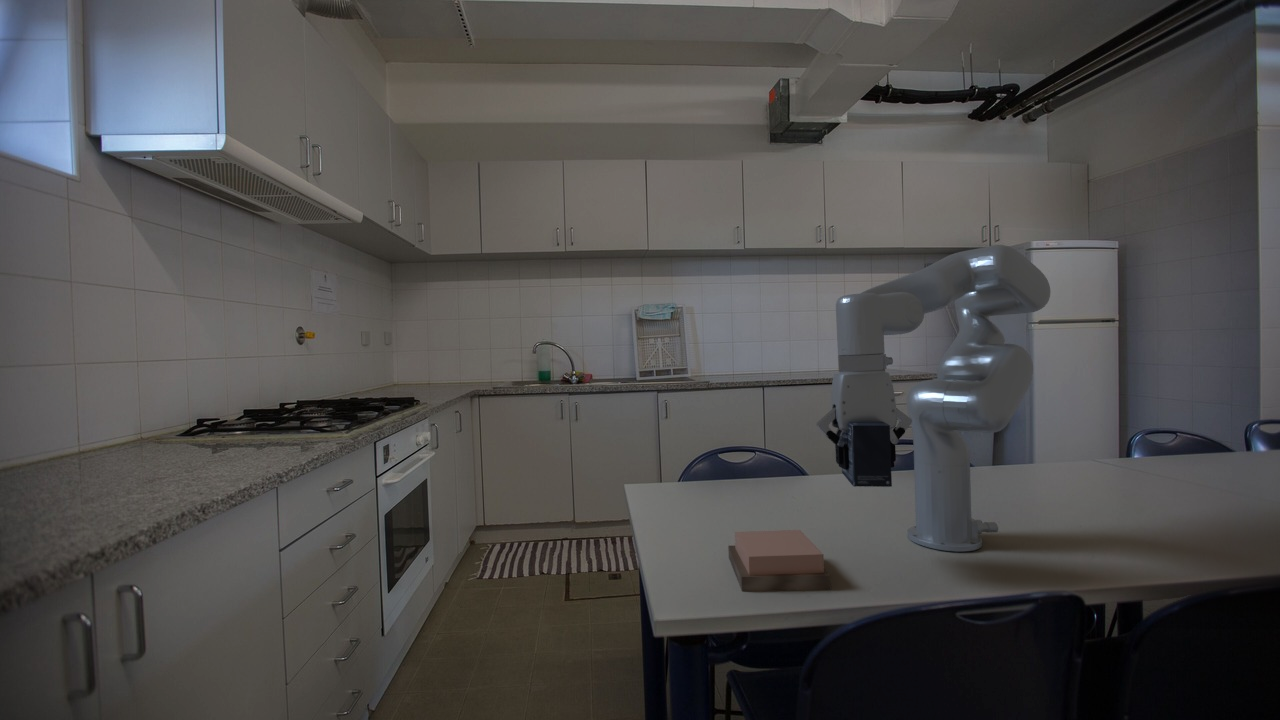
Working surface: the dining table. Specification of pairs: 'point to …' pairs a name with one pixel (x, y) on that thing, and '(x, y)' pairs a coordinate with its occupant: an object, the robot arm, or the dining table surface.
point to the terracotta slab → (778, 552)
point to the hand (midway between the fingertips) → (865, 466)
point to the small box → (869, 454)
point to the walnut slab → (776, 578)
